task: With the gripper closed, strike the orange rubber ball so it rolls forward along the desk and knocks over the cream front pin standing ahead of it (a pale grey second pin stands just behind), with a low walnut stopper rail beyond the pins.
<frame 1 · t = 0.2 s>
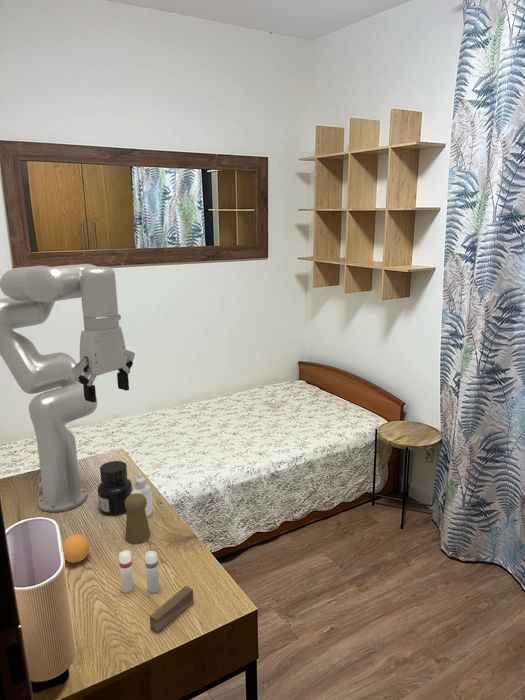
hand: (107, 395, 121), 36 cm above the table, tool pointing down, fingers open, 9 cm apart
stopper rail: (172, 614, 103), on the table
eye dropper bottle: (142, 516, 137), on the table
olive pawn: (138, 537, 128), on the table
front pin: (127, 589, 110), on the table
ink bottle: (116, 507, 141), on the table
ball: (75, 548, 119), on the table
rear pin: (153, 589, 110), on the table
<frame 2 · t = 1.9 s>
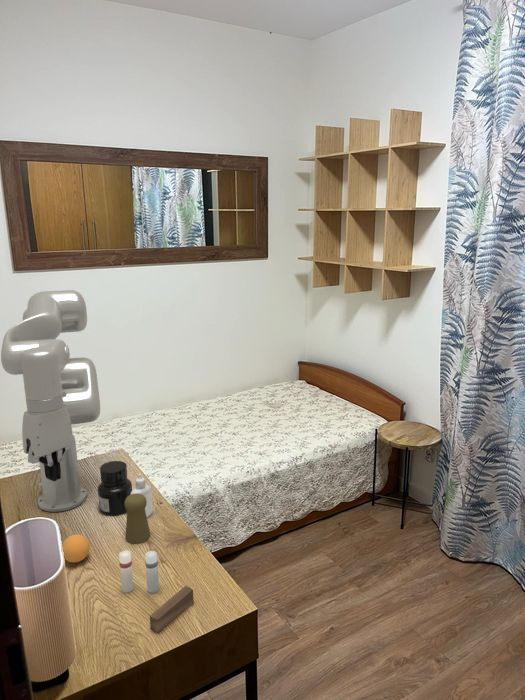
hand: (53, 478, 120), 18 cm above the table, tool pointing down, fingers closed
nothing on the table moved.
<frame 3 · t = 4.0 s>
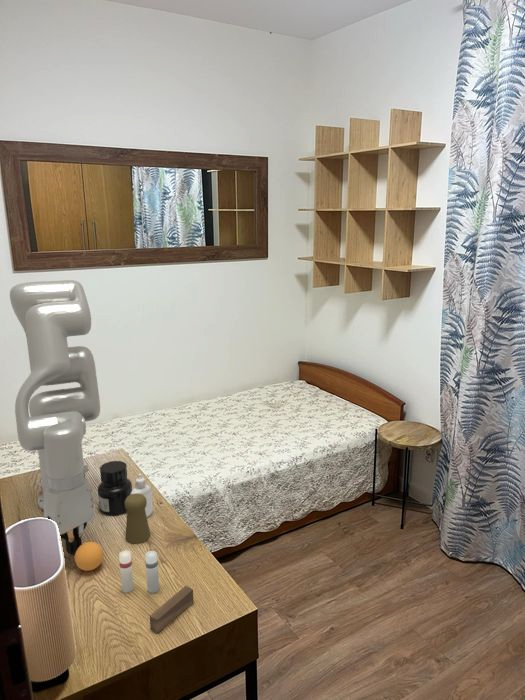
hand: (74, 553, 118), 2 cm above the table, tool pointing down, fingers closed
ball: (89, 556, 116), on the table
everything else where it was.
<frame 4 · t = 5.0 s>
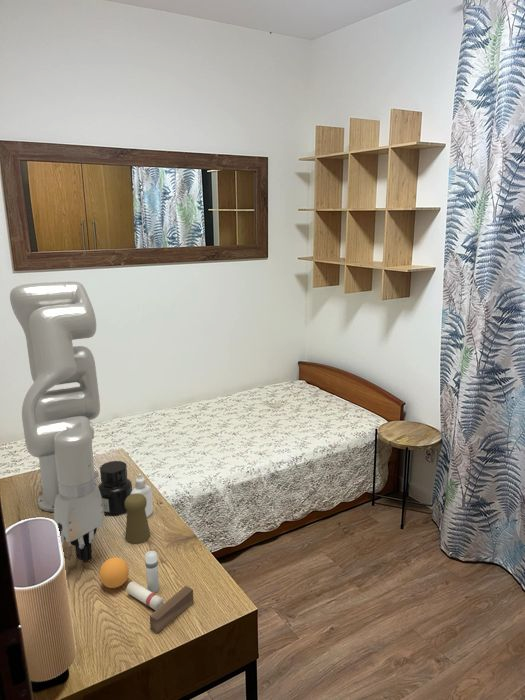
hand: (84, 558, 117), 2 cm above the table, tool pointing down, fingers closed
front pin: (130, 587, 109), point 1 cm above the table, tilted 90°
ball: (114, 572, 111), on the table
everything else where it was.
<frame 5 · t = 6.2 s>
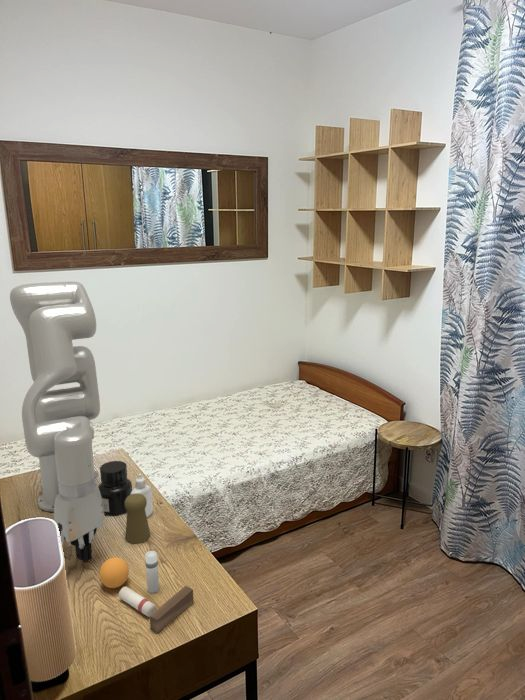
hand: (84, 558, 117), 2 cm above the table, tool pointing down, fingers closed
front pin: (123, 592, 107), point 1 cm above the table, tilted 90°
everything else where it was.
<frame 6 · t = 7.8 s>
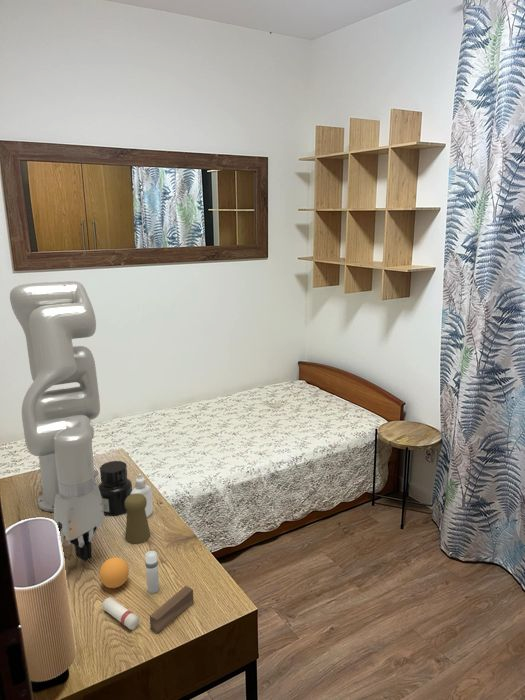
hand: (84, 557, 117), 2 cm above the table, tool pointing down, fingers closed
front pin: (107, 603, 104), point 1 cm above the table, tilted 90°
everything else where it was.
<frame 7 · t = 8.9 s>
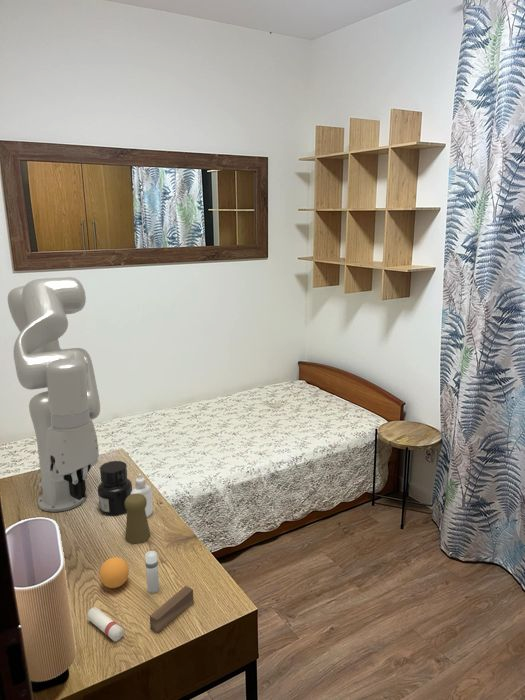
hand: (78, 496, 113), 17 cm above the table, tool pointing down, fingers closed
front pin: (92, 613, 102), point 1 cm above the table, tilted 90°
everything else where it was.
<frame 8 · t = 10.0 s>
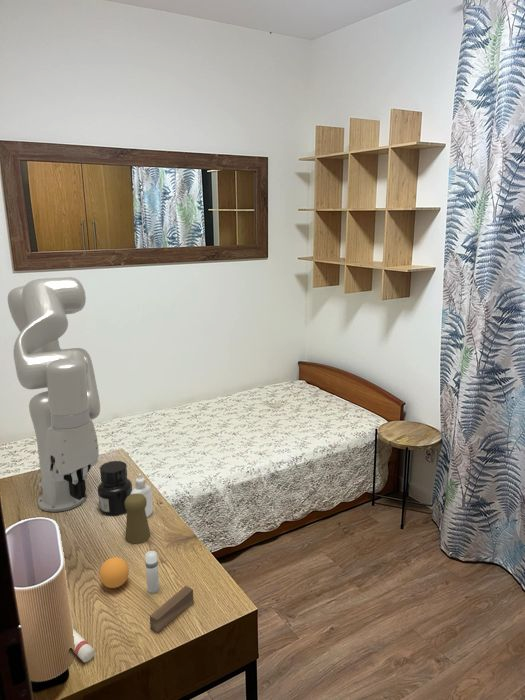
hand: (78, 496, 113), 17 cm above the table, tool pointing down, fingers closed
front pin: (64, 630, 97), point 1 cm above the table, tilted 90°
everything else where it was.
at the end: front pin tilted 90°; front pin never touched the robot; ball moved 13.8 cm from its start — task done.
